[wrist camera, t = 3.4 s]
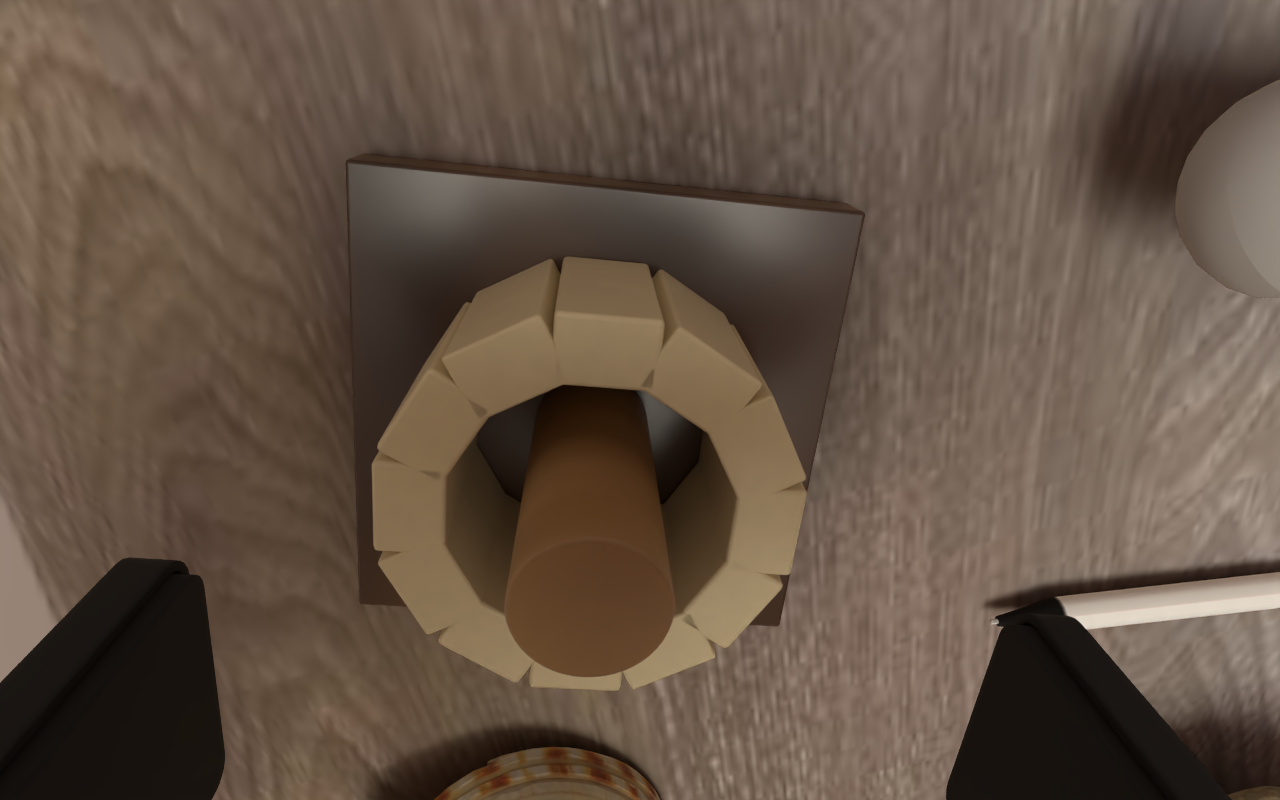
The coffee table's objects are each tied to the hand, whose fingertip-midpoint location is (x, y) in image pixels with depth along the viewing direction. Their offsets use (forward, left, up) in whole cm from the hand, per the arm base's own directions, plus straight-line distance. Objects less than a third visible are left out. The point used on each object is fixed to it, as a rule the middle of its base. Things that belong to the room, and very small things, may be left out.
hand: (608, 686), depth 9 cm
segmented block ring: (0, 0, -8) cm, 8 cm away
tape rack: (0, 0, -9) cm, 9 cm away
